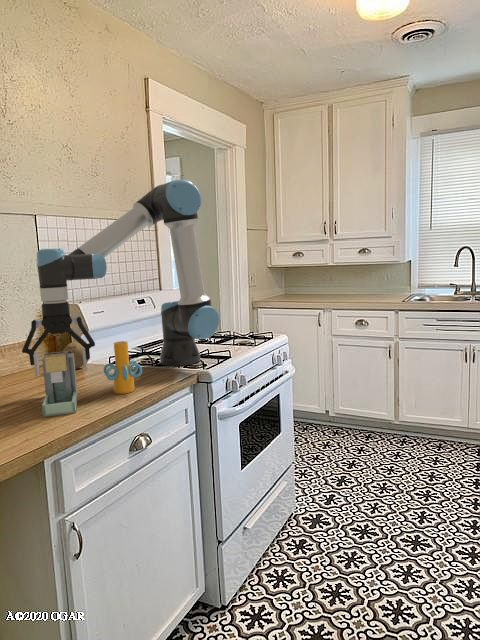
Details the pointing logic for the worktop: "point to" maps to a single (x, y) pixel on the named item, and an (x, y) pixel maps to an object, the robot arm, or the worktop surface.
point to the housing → (61, 389)
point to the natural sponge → (76, 353)
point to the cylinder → (122, 369)
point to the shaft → (58, 375)
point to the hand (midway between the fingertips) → (62, 373)
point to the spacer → (55, 362)
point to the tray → (59, 407)
